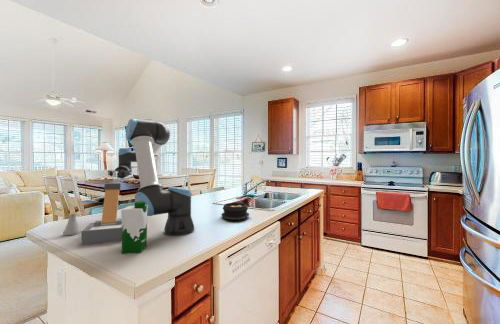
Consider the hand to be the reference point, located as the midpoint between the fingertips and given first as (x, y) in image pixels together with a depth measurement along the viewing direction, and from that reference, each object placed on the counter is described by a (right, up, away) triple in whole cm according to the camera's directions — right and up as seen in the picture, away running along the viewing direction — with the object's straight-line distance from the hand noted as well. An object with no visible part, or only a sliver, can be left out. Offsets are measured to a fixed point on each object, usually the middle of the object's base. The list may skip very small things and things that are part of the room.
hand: (114, 174), depth 122 cm
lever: (+5, -24, -12) cm, 27 cm away
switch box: (+5, -30, -12) cm, 32 cm away
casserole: (+63, -30, +28) cm, 76 cm away
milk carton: (+25, -30, -27) cm, 48 cm away
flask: (-17, -30, -7) cm, 35 cm away
